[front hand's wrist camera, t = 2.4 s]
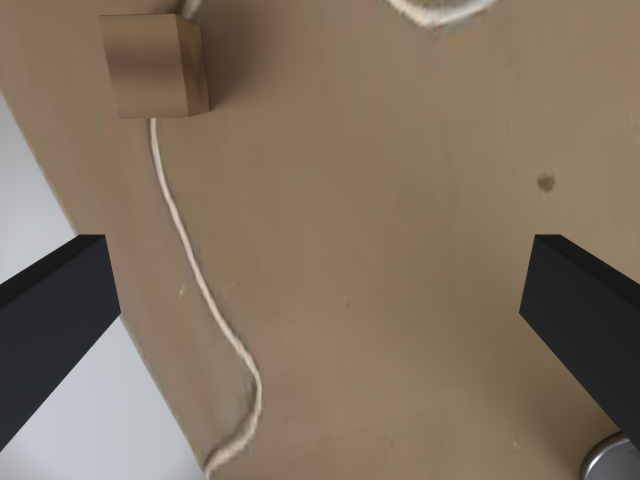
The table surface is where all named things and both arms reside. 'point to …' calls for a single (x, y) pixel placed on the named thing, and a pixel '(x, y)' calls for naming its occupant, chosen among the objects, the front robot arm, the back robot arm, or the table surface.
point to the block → (155, 65)
